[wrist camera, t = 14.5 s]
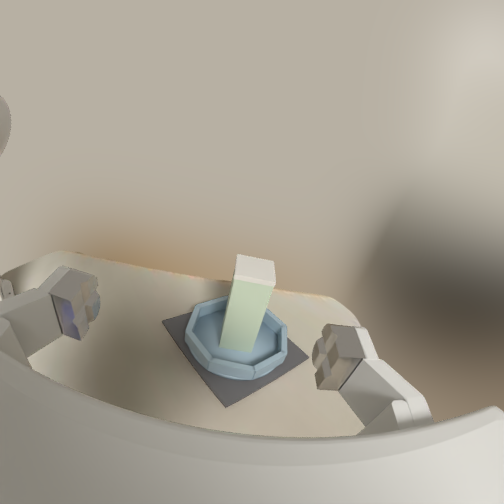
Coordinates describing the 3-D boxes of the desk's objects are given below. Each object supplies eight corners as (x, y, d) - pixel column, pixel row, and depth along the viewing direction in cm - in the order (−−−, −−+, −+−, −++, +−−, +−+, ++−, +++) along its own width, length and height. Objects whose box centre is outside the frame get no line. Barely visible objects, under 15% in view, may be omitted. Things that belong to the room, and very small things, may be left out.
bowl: (170, 324, 47) (170, 311, 45) (243, 300, 58) (246, 289, 56) (225, 397, 36) (228, 386, 35) (300, 354, 47) (306, 342, 46)
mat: (162, 322, 47) (162, 320, 47) (242, 297, 59) (242, 296, 59) (225, 407, 35) (226, 406, 35) (308, 358, 47) (309, 357, 47)
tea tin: (218, 347, 44) (234, 274, 37) (221, 324, 49) (237, 253, 42) (251, 353, 44) (275, 282, 37) (252, 330, 49) (273, 261, 42)
